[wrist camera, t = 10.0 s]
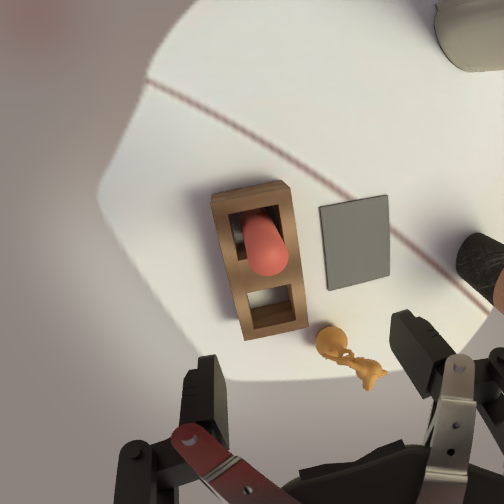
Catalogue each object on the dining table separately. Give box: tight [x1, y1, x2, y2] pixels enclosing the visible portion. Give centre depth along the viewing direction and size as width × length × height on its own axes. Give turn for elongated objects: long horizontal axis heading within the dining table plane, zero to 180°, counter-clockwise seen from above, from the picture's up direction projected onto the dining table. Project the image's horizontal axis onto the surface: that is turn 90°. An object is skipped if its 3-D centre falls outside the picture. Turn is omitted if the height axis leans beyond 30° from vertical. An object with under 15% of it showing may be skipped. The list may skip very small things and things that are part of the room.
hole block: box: [210, 180, 309, 341], centre depth 31 cm, size 15×7×4 cm, turn 11°
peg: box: [241, 207, 289, 276], centre depth 27 cm, size 3×3×10 cm
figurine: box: [315, 326, 388, 391], centre depth 32 cm, size 8×6×12 cm
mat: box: [320, 195, 390, 291], centre depth 34 cm, size 10×8×1 cm
